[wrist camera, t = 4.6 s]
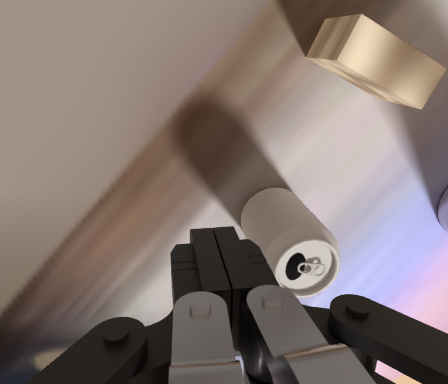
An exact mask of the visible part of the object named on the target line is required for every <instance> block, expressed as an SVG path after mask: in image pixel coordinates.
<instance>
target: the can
mask: <svg viewBox="0 0 448 384" xmlns="http://www.w3.org/2000/svg"><path fill="white" fill-rule="evenodd" d="M241 227H242V229H243V232H244V234H245V237H246V239H250V240H251V241H253V242H254V243H255V244H257V245H258V246H259V247H260V249H261V251H262V253H263V255H264V257H265V258H266V260H267V264H269V266H270V268H271V270H272V272H273V274H274V276H275V278H276V279H277V281H278V283H279V285H280V287H283V288H286V289H288V290H289V291H291V292H292V293H293V294H294V295H295V296H296V297H297V298H306V297H311V296H314V295H316V294H319V293H321V292H322V291H323V290H325V289H326V288H328V287H329V286H330V284H331V283H332V282H333V281H334V280H335V278H336V276H337V274H338V271H339V267H340V258H339V248H338V243H337V241H336V239H335V238H334V236H333V235H332V234H331V232H330V231H329V230H328V229H327V228H326V227H325V226H324V225H323V224H322V223H321V222H320V221H319V220H318V219H317V217H316V216H315V215H314V214H313V213H312V212H311V211H310V210H309V209H308V208H307V207H306V206H305V205H304V204H303V202H302V201H301V200H300V199H299V198H298V197H297V196H296V195H295V194H293V193H292V192H290V191H289V190H287V189H283V188H279V187H277V188H267V189H265V190H262V191H259V192H258V193H256V194H255V195H254V196H252V197H251V198H250V199H249V200H248V202H247V203H246V204H245V206H244V208H243V211H242V214H241Z"/></svg>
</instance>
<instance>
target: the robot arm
mask: <svg viewBox="0 0 448 384" xmlns="http://www.w3.org/2000/svg"><path fill="white" fill-rule="evenodd" d="M438 219H439V222H440V224H441V226H442V227H443V228H444V229H445V230H446V231H448V188H447V189H446V191H445V192H444V194H443V196H442V197H441V200H440V203H439V207H438ZM171 276H172V295H173V309H172V311H171V312H170V314H169V315H168V316H167V317H165V318H164V319H163V320H161V321H159V322H157V323H154V324H152V325H149V326H146V327H145V326H144V325H143V323H141V322H140V321H138V320H137V319H134V318H130V317H117V318H112V319H108V320H106V321H103V322H102V323H100V324H98V325H97V326H95V327H94V328H93V329H92V330H90V331H89V332H88V333H87V334H85V335H84V336H83V337H82V338H81V339H79V340H78V341H77V342H76V343H75V344H73V345H72V346H71V347H70V348H68V349H67V350H66V351H65V352H64V353H62V354H61V355H60V356H59V357H57V358H56V359H55V360H54V361H53V362H51V363H50V364H49V365H48V366H46V367H45V368H44V369H43V370H42V371H40V372H39V373H38V374H37V375H36V376H34V377H33V378H32V379H31V380H29V381H28V382H27V383H26V384H244V383H245V384H395V383H394V382H392V381H390V380H388V379H387V378H385V377H383V376H381V375H379V374H378V373H376V372H375V368H376V364H377V360H379V361H381V362H383V363H384V364H386V365H388V366H390V367H392V368H394V369H396V370H397V371H399V372H401V373H403V374H405V375H407V376H409V377H411V378H412V379H414V380H416V381H418V382H420V383H422V384H448V334H447V333H445V332H443V331H440V330H438V329H436V328H434V327H431V326H429V325H427V324H425V323H422V322H420V321H418V320H415V319H413V318H411V317H409V316H406V315H404V314H402V313H400V312H397V311H395V310H393V309H391V308H388V307H386V306H384V305H382V304H379V303H377V302H375V301H373V300H370V299H368V298H365V297H363V296H359V295H353V294H345V295H340V296H337V297H335V298H334V299H333V300H332V301H331V304H330V309H327V308H319V307H311V306H306V305H302V304H301V303H300V302H299V300H298V299H297V297H296V296H295V295H294V294H293V293H292V292H291V291H289V290H288V289H286V288H283V287H280V285H279V283H278V281H277V279H276V278H275V276H274V274H273V272H272V270H271V268H270V266H269V264H267V260H266V258H265V257H264V255H263V253H262V251H261V249H260V247H259V246H258V245H257V244H255V243H254V242H253V241H251V240H250V239H244V240H239V237H238V235H237V233H236V231H235V228H234V227H233V226H231V227H216V228H202V229H190V244H177V245H175V247H174V249H173V250H172V252H171ZM235 356H242V360H243V374H242V368H241V364H240V361H239V360H237V361H236V359H235Z"/></svg>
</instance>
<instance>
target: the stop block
mask: <svg viewBox="0 0 448 384" xmlns="http://www.w3.org/2000/svg"><path fill="white" fill-rule="evenodd" d="M306 58H308V59H309V60H311V61H313V62H315V63H316V64H318V65H320V66H322V67H323V68H325V69H327V70H329V71H331V72H332V73H334V74H336V75H338V76H339V77H341V78H343V79H345V80H346V81H348V82H350V83H352V84H354V85H355V86H357V87H359V88H361V89H362V90H364V91H366V92H368V93H369V94H371V95H373V96H375V97H377V98H378V99H381V100H385V101H389V102H393V103H397V104H401V105H405V106H409V107H413V108H417V109H421V110H422V108H423V106H424V105H425V103H426V101H427V100H428V98H429V97H430V95H431V93H432V92H433V90H434V89H435V87H436V85H437V84H438V82H439V81H440V79H441V77H442V76H443V74H444V73H445V71H446V68H445V67H443V66H442V65H440V64H439V63H437V62H435V61H434V60H432V59H431V58H429V57H428V56H426V55H425V54H423V53H422V52H420V51H418V50H417V49H415V48H414V47H412V46H411V45H409V44H408V43H406V42H405V41H403V40H401V39H400V38H398V37H397V36H395V35H394V34H392V33H391V32H389V31H388V30H386V29H385V28H383V27H381V26H380V25H378V24H377V23H375V22H374V21H372V20H371V19H369V18H368V17H366V16H364V15H363V14H356V15H349V16H342V17H335V18H327V19H325V21H324V22H323V24H322V26H321V28H320V30H319V32H318V34H317V36H316V38H315V40H314V42H313V44H312V46H311V48H310V50H309V52H308V54H307V56H306Z"/></svg>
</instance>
